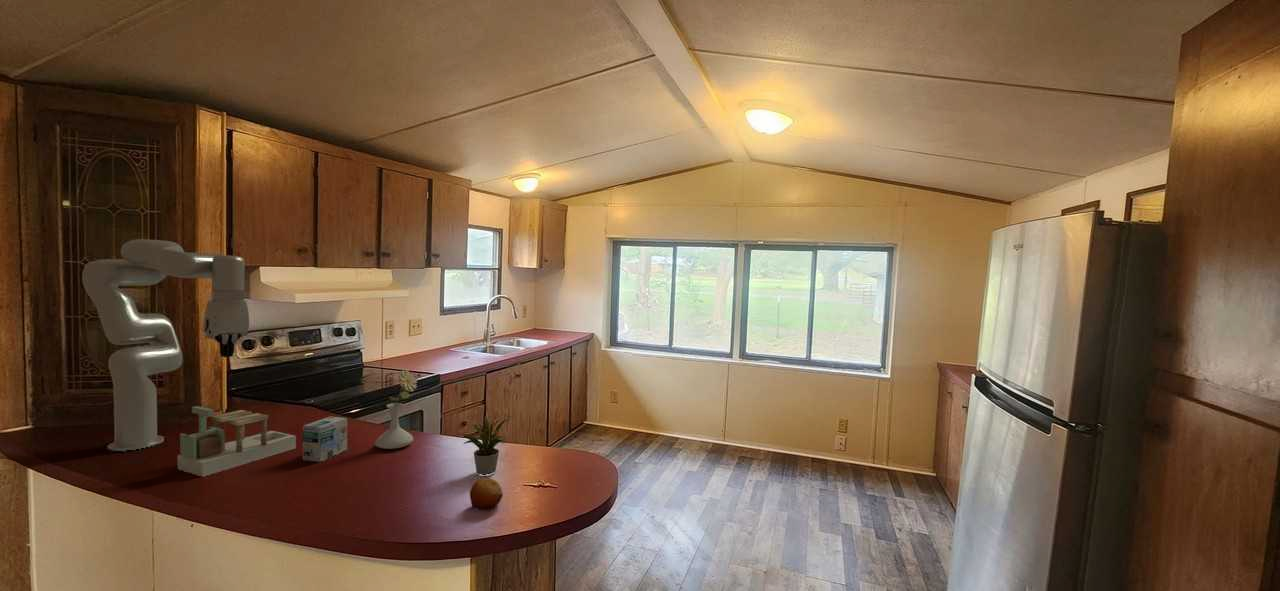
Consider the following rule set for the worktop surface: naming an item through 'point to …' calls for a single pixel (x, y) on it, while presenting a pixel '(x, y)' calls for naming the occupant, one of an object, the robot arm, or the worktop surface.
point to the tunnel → (242, 424)
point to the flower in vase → (395, 434)
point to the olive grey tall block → (199, 434)
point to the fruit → (485, 494)
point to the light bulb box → (324, 438)
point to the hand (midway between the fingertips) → (226, 356)
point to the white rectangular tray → (239, 454)
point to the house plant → (486, 447)
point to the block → (208, 446)
